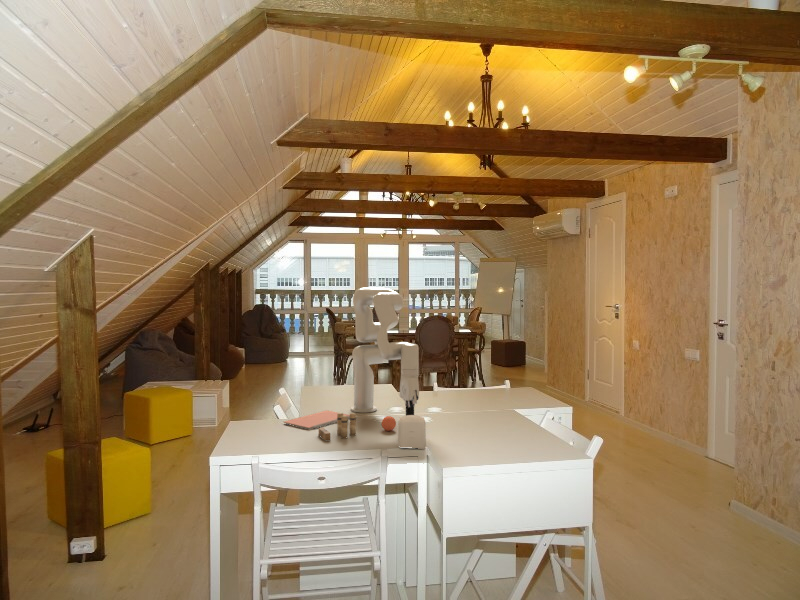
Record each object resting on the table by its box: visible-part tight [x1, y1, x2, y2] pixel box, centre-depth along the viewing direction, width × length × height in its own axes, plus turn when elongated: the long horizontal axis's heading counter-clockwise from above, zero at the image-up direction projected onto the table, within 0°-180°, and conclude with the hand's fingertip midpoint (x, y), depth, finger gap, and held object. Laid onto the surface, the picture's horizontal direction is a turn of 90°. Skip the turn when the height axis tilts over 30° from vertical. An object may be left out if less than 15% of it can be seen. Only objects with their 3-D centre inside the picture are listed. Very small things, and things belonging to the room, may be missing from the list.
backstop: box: [318, 427, 331, 441], centre depth 212 cm, size 9×2×3 cm, turn 26°
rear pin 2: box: [340, 416, 349, 439], centre depth 213 cm, size 2×2×8 cm
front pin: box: [349, 412, 357, 436], centre depth 217 cm, size 2×2×8 cm
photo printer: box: [397, 414, 427, 450], centre depth 200 cm, size 10×4×12 cm, turn 89°
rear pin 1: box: [336, 412, 344, 436], centre depth 217 cm, size 2×2×8 cm
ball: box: [381, 415, 397, 432], centre depth 224 cm, size 6×6×6 cm
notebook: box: [283, 409, 350, 430], centre depth 238 cm, size 27×17×2 cm, turn 144°
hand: (409, 415), depth 227 cm, fingers closed
